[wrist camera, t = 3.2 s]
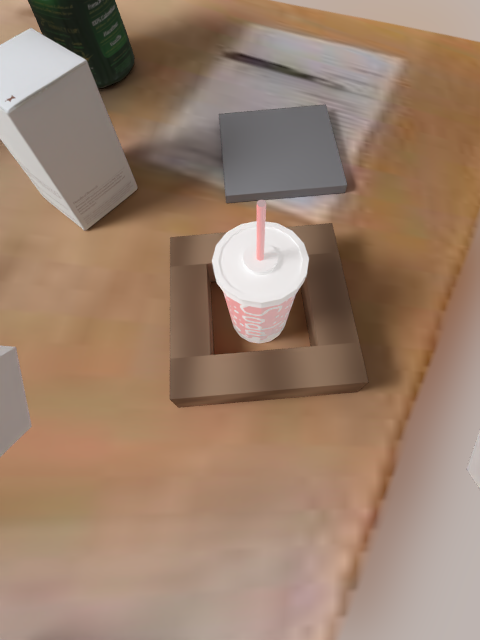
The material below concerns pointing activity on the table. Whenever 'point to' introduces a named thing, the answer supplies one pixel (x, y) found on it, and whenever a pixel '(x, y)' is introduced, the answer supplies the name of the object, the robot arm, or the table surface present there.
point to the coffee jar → (88, 34)
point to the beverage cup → (260, 275)
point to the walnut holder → (270, 365)
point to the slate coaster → (280, 154)
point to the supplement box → (61, 128)
